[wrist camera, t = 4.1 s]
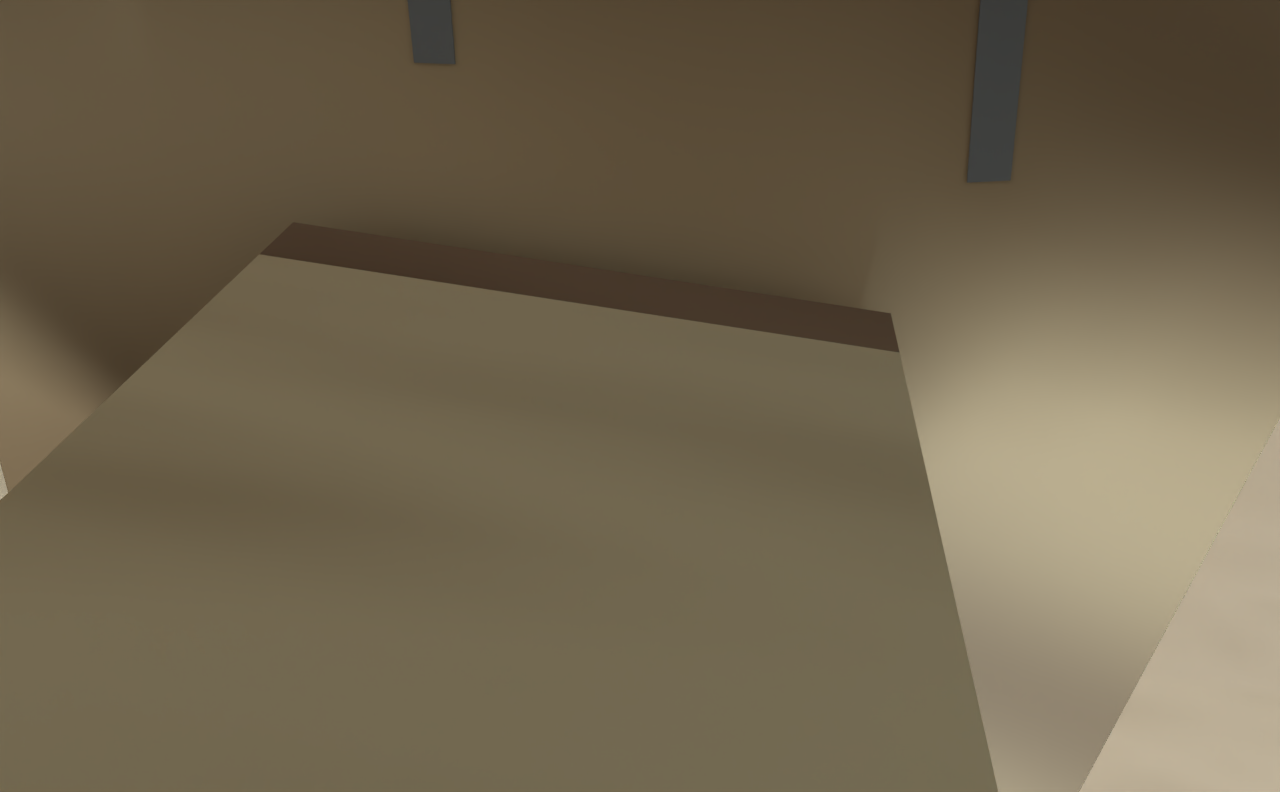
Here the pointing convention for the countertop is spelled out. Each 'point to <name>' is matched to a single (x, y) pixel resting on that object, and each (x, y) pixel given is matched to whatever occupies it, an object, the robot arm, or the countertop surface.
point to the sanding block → (488, 545)
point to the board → (736, 239)
